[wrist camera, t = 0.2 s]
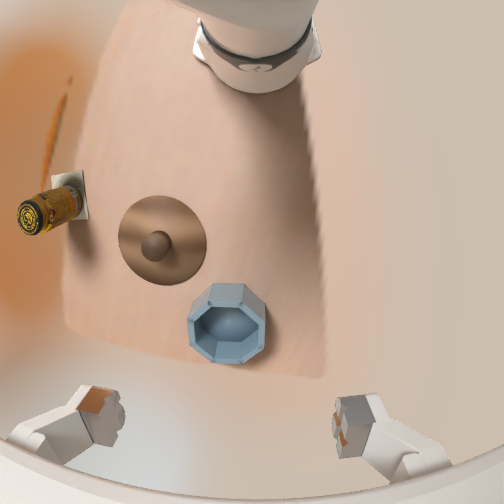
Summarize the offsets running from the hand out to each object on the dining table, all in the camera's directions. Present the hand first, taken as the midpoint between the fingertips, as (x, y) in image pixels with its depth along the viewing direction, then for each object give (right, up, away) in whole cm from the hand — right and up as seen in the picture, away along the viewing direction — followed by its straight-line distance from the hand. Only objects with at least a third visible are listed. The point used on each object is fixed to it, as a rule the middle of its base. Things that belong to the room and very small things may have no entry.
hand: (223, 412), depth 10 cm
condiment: (-31, +15, +36) cm, 50 cm away
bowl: (-3, -5, +43) cm, 43 cm away
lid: (-14, +8, +39) cm, 42 cm away
